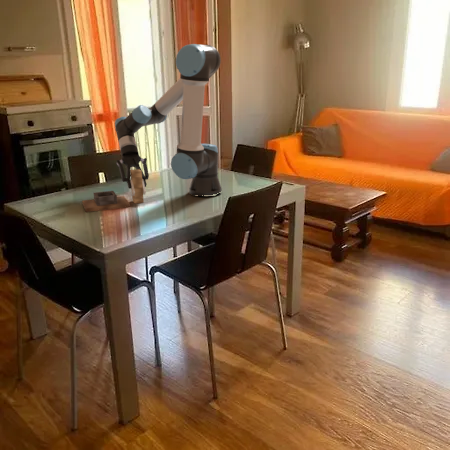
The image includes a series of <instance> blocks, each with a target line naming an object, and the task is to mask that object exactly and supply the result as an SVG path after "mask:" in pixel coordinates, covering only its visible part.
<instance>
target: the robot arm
mask: <svg viewBox="0 0 450 450" xmlns="http://www.w3.org/2000/svg"><path fill="white" fill-rule="evenodd" d="M221 63H222V60H221V55H220V52H219V50H218V49H217V48H216V47H214V46H213V45H211V44H197V43H191V44H186V45H184V46H182V47H181V48H180V49H179V51H178V52H177V54H176V58H175V66H176V69H177V70H178V73H180V78H179V79H178V80H177V81H175V83H174V84H173V85H172V86H171V87H170V88H169V89H168V90H166V92H165V93H164V94H163V95H162V96H161V97H160V98H159V99H157V101H156V102H155V103H154V104H152V106H151V107H147V106H146V105H143V104H140V105H138V106H137V107H135V108H134V109H133V110H132V111H131V112H130V114H128V115H127V116H120V117H117V118H116V119H115V121H114V128H115V133H116V137H117V140H118V141H117V142H118V144H119V145H118V146H119V149H120V155H121V159H120V160H119V159H117V160H116V166H117V167H118V169H119V173H120V176H121V181H122V182H123V183H125V182H126V184H127V186H128V189H130V190H131V196H132V195H133V196H134V195H135V190H134V186H133V182H132V180H131V172H130V170H131V168H135V169H140V170H141V171H142V185H143V196H144V195H146V193H147V190H146V187H147V180H149V178H150V177H149V176H150V174H149V170H148V169H149V168H148V165H147V159H148V158H147V157H144V158H143V157H141V155H140V153H139V149H138V145H137V142H136V137H135V134H136V133H137V132H138V131H139V130H141V128H143V127H146V126H151V125H156V124H157V125H158V124H161V123H164V122H165V121H167V118H168V115H169V114H170V113H171V112H172V111H173V110H174V109H175V108H176V107H177V106H179V104H180V103H181V102H182V113H181V127H180V128H181V130H180V141H179V143H178V144H177V145H176V153H175V154H174V155H173V156H172V158H171V161H170V162H171V163H170V165H171V170H172V172H173V173H174V174H175V176H177V177H178V178H179V179H182V180H189V179H191V183H190V185H189V190H188V192H189V195H190V194H192V195H198V196H202V195H203V196H204V195H213V194H217V193H219V192H221V191H223V190H222V189H223V188H222V186H221V183H220V179H219V173H218V172H219V152H218V151H219V149H218V146H217V145H216V144H211V143H202V134H203V120H204V119H203V118H204V106H205V105H204V104H205V103H204V102H205V92H206V91H205V90H206V85H207V84H208V83H209V82H210V78H212V76H214V75H215V74H216V73H217V72H218V70H219V69H220V67H221ZM140 162H141V164H142V168H141V166H140ZM123 165H125V166H126V175H125V170H124V166H123ZM142 169H143V170H142ZM192 195H191V196H192Z"/></svg>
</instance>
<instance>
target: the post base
mask: <svg viewBox="0 0 450 450" xmlns="http://www.w3.org/2000/svg"><path fill="white" fill-rule="evenodd" d="M81 203H82V206H83V208H84V211H85V212H86V213H88V212H89V213H90V212H96V211H97V212H98V211H106V210H114V209H122V208H123V209H124V208H130V207H131V205H130V202H129V201H128V199H127V198H126V197H125V195H123V196H118V195H117V193H115V191H114V190H108V191H107V190H106V191H105V190H104V191H99V192H96V191H95V192H93V199H85V200H82V202H81Z"/></svg>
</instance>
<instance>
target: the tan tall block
mask: <svg viewBox="0 0 450 450" xmlns="http://www.w3.org/2000/svg"><path fill="white" fill-rule="evenodd" d="M141 170H142V169H141ZM141 170H140V169H136V168H135V169H130V180H132V182H133V186H134V190H135V195H134V196H133V195H132V194H131V196H132V199H131V200H132V202H133V204H141V203H142V204H143V203H144V202H145V201H144V194H143V185H142V172H143V170H142V171H141Z"/></svg>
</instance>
